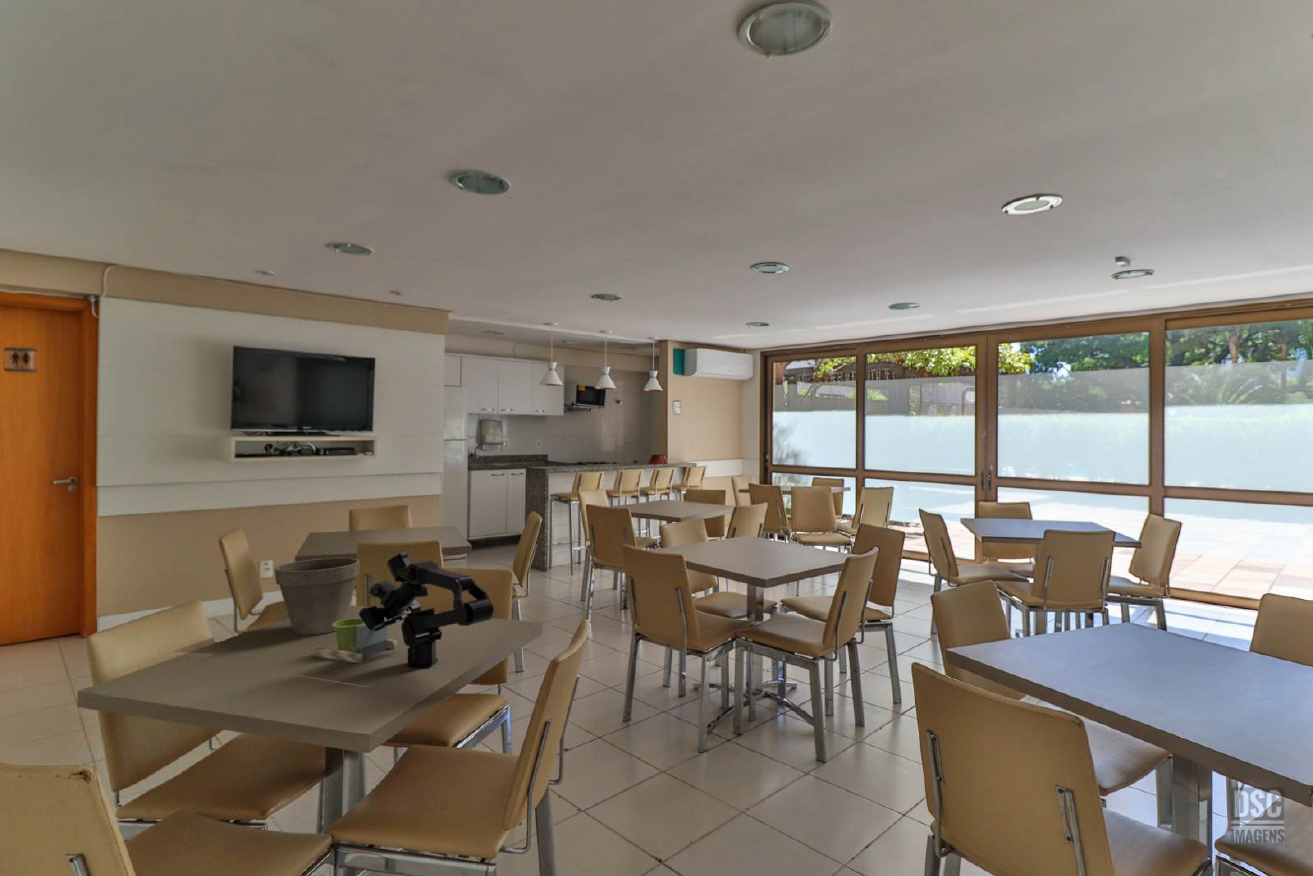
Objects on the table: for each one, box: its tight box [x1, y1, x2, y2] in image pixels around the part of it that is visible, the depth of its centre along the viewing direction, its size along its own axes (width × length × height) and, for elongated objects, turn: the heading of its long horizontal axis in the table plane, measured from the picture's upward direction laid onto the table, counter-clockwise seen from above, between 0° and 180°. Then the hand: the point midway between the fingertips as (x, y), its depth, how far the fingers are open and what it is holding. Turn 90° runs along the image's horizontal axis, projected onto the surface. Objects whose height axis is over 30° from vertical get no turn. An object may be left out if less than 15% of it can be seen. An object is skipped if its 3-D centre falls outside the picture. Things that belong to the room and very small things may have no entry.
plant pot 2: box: [333, 617, 365, 652], centre depth 191 cm, size 9×9×9 cm
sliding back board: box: [350, 624, 388, 660], centre depth 189 cm, size 4×10×9 cm, turn 159°
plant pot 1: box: [274, 557, 361, 636], centre depth 216 cm, size 25×25×22 cm
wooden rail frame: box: [315, 638, 398, 663], centre depth 190 cm, size 16×14×2 cm
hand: (375, 630), depth 188 cm, fingers closed, pressing on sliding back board
